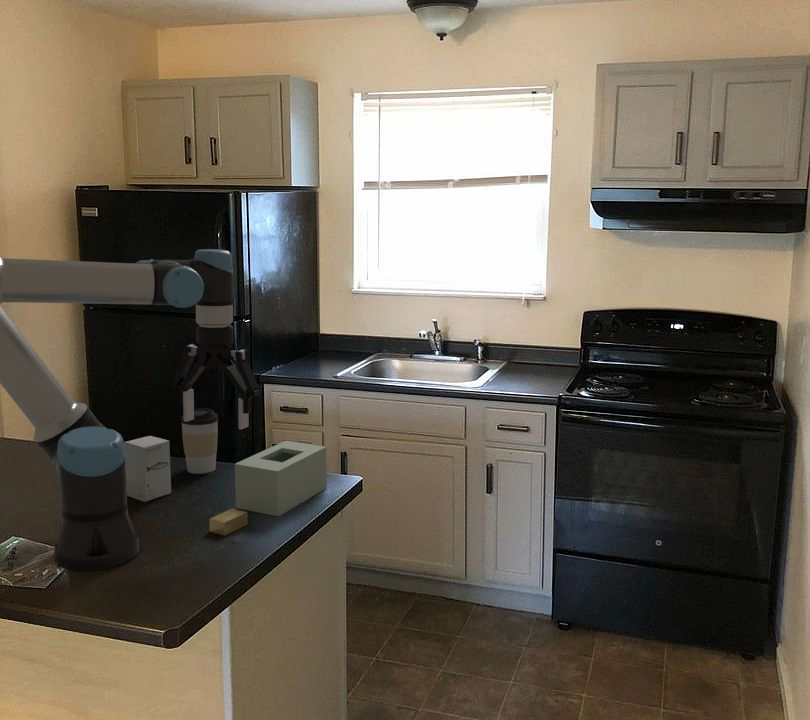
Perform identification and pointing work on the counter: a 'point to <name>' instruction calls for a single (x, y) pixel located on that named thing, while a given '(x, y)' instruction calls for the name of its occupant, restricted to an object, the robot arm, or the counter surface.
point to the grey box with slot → (280, 477)
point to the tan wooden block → (228, 521)
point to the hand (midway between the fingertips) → (215, 424)
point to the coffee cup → (200, 441)
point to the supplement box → (147, 468)
